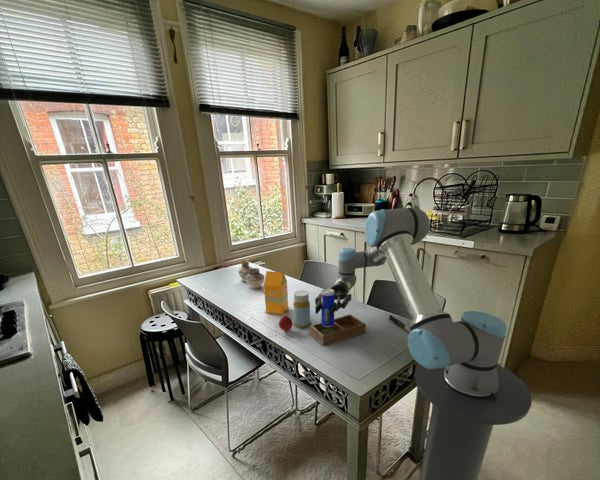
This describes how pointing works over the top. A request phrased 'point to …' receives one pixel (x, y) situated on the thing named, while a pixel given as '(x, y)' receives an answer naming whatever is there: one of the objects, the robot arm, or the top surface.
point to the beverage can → (327, 307)
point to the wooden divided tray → (338, 330)
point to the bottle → (301, 309)
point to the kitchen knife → (399, 323)
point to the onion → (285, 323)
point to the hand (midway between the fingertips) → (323, 311)
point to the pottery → (250, 275)
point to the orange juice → (275, 292)
